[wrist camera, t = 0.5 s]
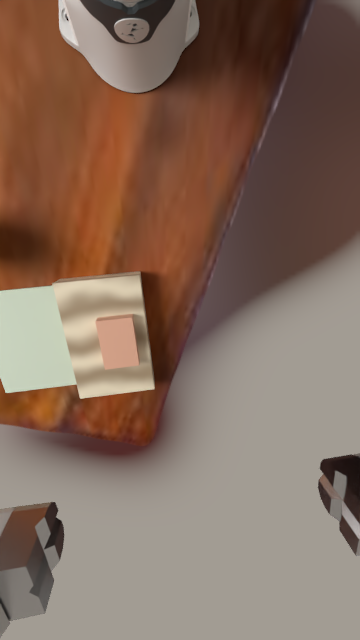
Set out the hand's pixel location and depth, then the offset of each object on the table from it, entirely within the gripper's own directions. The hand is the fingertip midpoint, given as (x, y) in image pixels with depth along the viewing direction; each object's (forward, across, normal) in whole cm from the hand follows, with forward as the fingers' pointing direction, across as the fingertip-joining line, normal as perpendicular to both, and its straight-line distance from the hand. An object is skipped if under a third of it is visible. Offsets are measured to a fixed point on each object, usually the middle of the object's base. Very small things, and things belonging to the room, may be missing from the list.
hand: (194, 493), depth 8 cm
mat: (+43, +25, +10) cm, 51 cm away
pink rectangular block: (+39, +8, +10) cm, 41 cm away
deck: (+43, +10, +10) cm, 45 cm away
